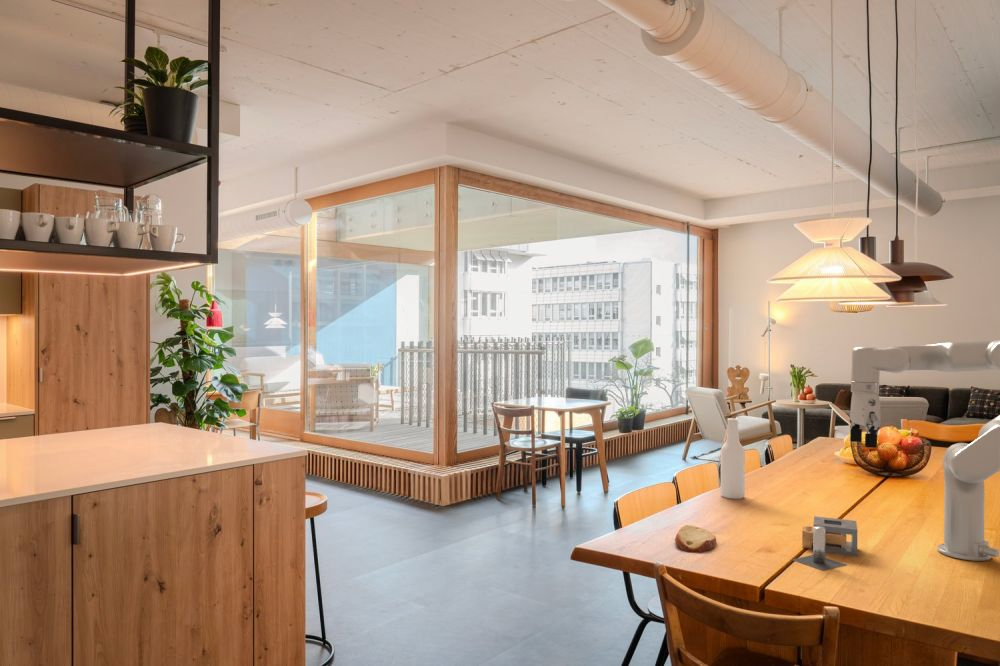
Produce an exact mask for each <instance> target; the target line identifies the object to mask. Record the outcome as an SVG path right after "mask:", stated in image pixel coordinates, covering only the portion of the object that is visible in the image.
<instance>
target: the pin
mask: <svg viewBox="0 0 1000 666" xmlns="http://www.w3.org/2000/svg"><path fill="white" fill-rule="evenodd" d="M812 527H813V541H812V555H813V562H814V563H817V564H825V558H826V553H825V527H821V526H814V525H813V526H812Z"/></svg>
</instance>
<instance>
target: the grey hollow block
mask: <svg viewBox="0 0 1000 666" xmlns="http://www.w3.org/2000/svg"><path fill="white" fill-rule="evenodd" d="M814 526H821V527H825V554H831V555H840V556H845V557H846V556H847V557H848V556H849V557H855V558H858V525H857V520H850V519H840V518H833V517H825V516H816V515H815V516H814V517H813V526H810V525H809V526H808V525H807V526H802V531H801V533H802V536H801V537H802V540H801V541H802V542H801V545H802V546H801V547H802V548H804V549H812V550H813V527H814ZM847 535H848V536H849V535H850V536H851V541H847Z"/></svg>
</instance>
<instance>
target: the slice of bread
mask: <svg viewBox="0 0 1000 666" xmlns="http://www.w3.org/2000/svg"><path fill="white" fill-rule="evenodd" d="M674 541H675V544H676V546H677V547H679V548H680V549H681V550H682V551H685V552H687V553H695V554H696V553H697V554H698V553H703V552H708V551H710V550H713V549H715V547H716V546H717V537H716V535H714V534H713V533H712V532H710V531H709V530H707V529H705V528H702V527H697V526H694V525H691V524H689V525H687V524H686V525H683V526H682V527H680V529H679V530H678V531H677V533H676V535H675V538H674Z"/></svg>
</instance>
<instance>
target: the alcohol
mask: <svg viewBox="0 0 1000 666" xmlns="http://www.w3.org/2000/svg"><path fill="white" fill-rule="evenodd" d="M726 424H727V430H726V440H725V442H724V444H723V445H722V446H721V449H720V495H721V497H723V498H725V499H731V500H741V499H743V498H744V497H745V492H746V491H745V489H746V487H745V485H746V480H745V478H746V477H745V475H746V470H745V469H746V460H745V459H746V452H745V448H744V446H743V445H742V444H741V442H740V435H739V433H740V432H739V419H738V418H735V417H729V418H727V423H726Z"/></svg>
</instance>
